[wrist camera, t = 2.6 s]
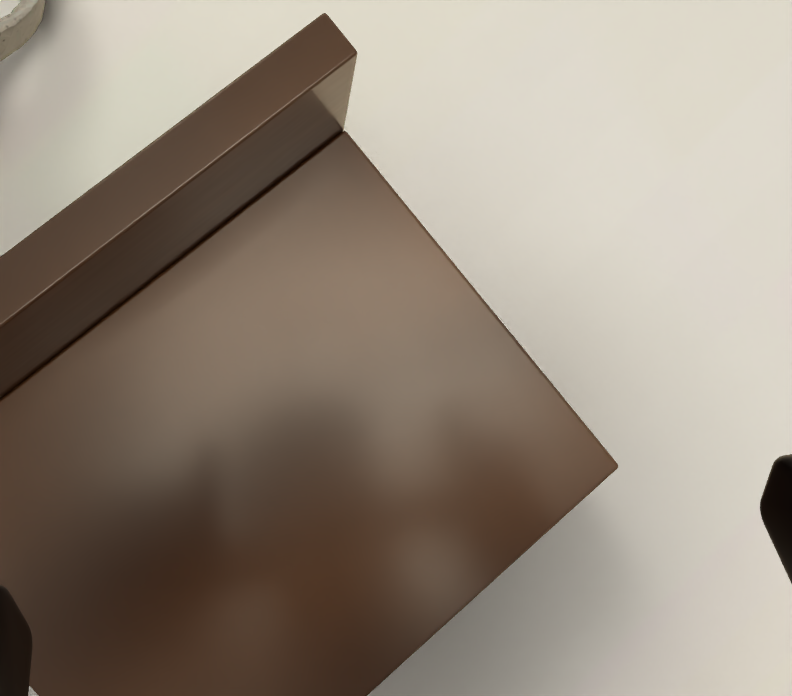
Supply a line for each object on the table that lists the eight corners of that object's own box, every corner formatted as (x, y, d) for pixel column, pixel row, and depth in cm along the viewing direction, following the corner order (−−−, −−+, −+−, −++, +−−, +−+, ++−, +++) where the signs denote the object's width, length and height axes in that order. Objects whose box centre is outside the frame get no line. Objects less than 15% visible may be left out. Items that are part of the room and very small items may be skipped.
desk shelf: (559, 449, 24) (715, 492, 15) (208, 762, 22) (146, 1024, 13) (314, 152, 23) (325, 10, 14) (-67, 450, 21) (-327, 501, 12)
